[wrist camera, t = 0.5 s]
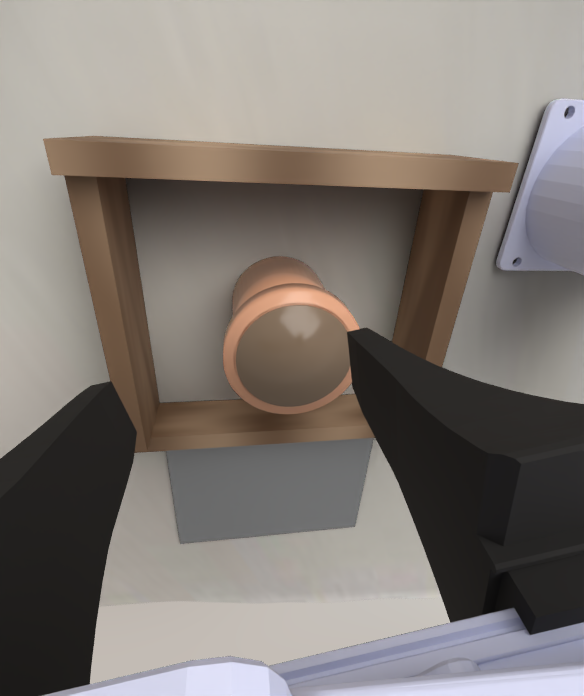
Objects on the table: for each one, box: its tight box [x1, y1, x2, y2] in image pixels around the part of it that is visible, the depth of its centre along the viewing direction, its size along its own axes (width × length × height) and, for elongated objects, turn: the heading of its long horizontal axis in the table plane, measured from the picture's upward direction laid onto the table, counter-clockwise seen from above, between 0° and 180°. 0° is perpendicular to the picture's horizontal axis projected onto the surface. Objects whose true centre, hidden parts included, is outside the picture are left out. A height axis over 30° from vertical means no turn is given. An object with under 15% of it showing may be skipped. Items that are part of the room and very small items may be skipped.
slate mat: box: [166, 438, 373, 544], centre depth 28 cm, size 14×10×1 cm
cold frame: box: [43, 136, 519, 453], centre depth 19 cm, size 16×15×5 cm
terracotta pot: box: [223, 256, 360, 414], centre depth 18 cm, size 6×6×6 cm
